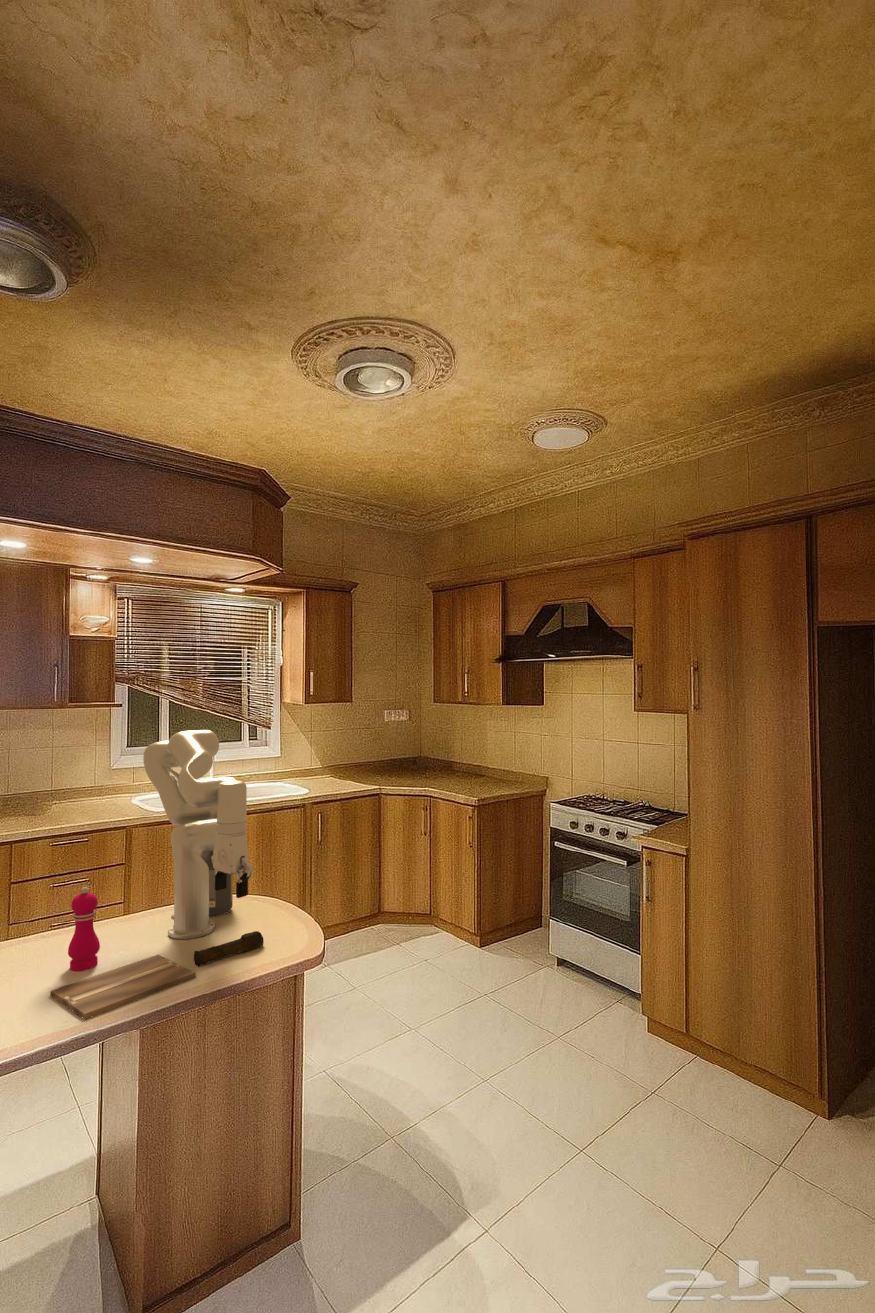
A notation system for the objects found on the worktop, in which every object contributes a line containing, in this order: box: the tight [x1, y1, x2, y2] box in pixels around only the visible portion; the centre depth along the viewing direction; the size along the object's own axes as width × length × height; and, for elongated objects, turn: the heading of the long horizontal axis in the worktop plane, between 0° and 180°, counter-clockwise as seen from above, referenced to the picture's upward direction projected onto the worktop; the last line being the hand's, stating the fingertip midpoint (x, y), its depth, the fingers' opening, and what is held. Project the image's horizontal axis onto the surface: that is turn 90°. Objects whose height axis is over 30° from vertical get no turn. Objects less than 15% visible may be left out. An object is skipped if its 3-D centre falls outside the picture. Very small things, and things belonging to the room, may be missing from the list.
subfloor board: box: [50, 954, 197, 1020], centre depth 157 cm, size 18×26×1 cm
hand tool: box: [193, 930, 264, 968], centre depth 174 cm, size 19×4×5 cm, turn 131°
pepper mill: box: [67, 886, 101, 972], centre depth 169 cm, size 7×7×20 cm
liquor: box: [201, 851, 234, 918], centre depth 210 cm, size 9×9×30 cm
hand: (231, 893), depth 175 cm, fingers open, 9 cm apart
